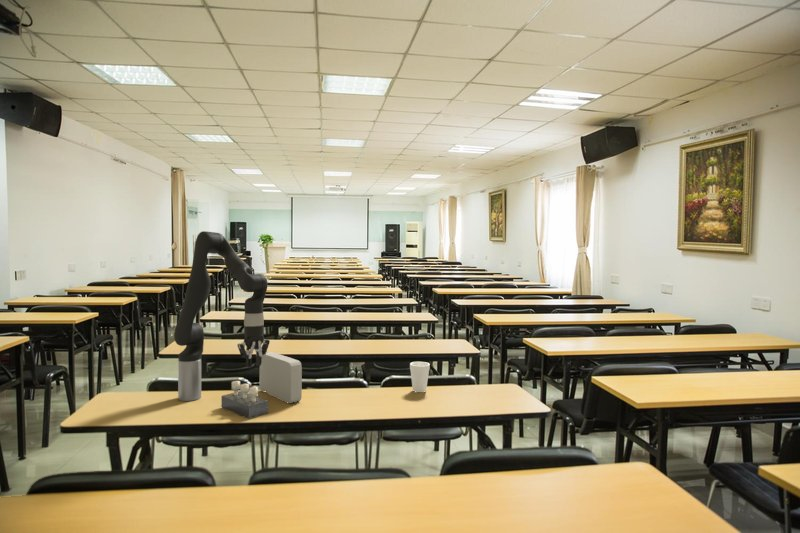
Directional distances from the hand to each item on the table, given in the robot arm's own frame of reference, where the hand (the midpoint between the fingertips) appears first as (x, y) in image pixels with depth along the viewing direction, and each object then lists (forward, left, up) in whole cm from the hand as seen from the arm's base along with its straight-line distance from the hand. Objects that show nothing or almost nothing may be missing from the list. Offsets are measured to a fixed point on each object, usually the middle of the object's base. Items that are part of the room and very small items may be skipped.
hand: (253, 366), depth 186 cm
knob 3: (0, 0, -16) cm, 16 cm away
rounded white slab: (-12, +21, -19) cm, 31 cm away
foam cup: (+31, +69, -19) cm, 79 cm away
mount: (-7, 0, -19) cm, 20 cm away
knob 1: (-13, 0, -16) cm, 21 cm away
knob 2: (-7, 0, -16) cm, 17 cm away
